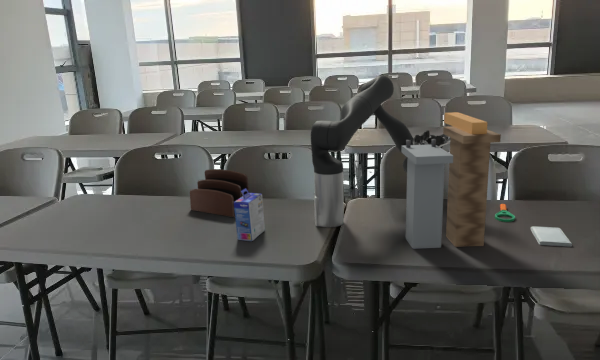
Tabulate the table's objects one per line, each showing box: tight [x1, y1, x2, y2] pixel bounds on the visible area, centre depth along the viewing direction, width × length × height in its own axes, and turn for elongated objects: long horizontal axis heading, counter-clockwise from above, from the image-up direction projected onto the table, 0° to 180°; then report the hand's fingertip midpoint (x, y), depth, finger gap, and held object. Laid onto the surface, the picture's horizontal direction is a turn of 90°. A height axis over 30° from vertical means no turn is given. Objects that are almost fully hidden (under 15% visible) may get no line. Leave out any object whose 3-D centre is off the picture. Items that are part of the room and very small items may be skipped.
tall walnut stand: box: [442, 126, 502, 248], centre depth 136 cm, size 10×16×32 cm, turn 2°
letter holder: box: [189, 168, 250, 218], centre depth 174 cm, size 10×20×14 cm, turn 60°
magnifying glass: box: [494, 203, 516, 223], centre depth 161 cm, size 15×6×2 cm, turn 161°
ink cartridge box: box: [234, 188, 266, 242], centre depth 148 cm, size 10×6×14 cm, turn 161°
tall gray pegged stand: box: [400, 139, 453, 250], centre depth 136 cm, size 10×16×29 cm, turn 2°
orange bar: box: [443, 111, 488, 134], centre depth 136 cm, size 4×22×3 cm, turn 2°
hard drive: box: [530, 226, 573, 248], centre depth 140 cm, size 2×8×12 cm
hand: (441, 132), depth 156 cm, fingers open, 8 cm apart
